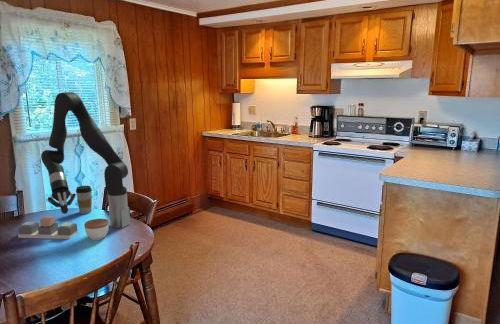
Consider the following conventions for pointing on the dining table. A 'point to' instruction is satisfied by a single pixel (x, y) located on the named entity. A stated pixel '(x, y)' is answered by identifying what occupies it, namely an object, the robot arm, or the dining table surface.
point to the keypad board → (47, 232)
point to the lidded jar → (96, 228)
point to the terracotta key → (47, 221)
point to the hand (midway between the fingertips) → (65, 212)
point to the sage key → (66, 225)
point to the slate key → (28, 224)
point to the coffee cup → (84, 199)
